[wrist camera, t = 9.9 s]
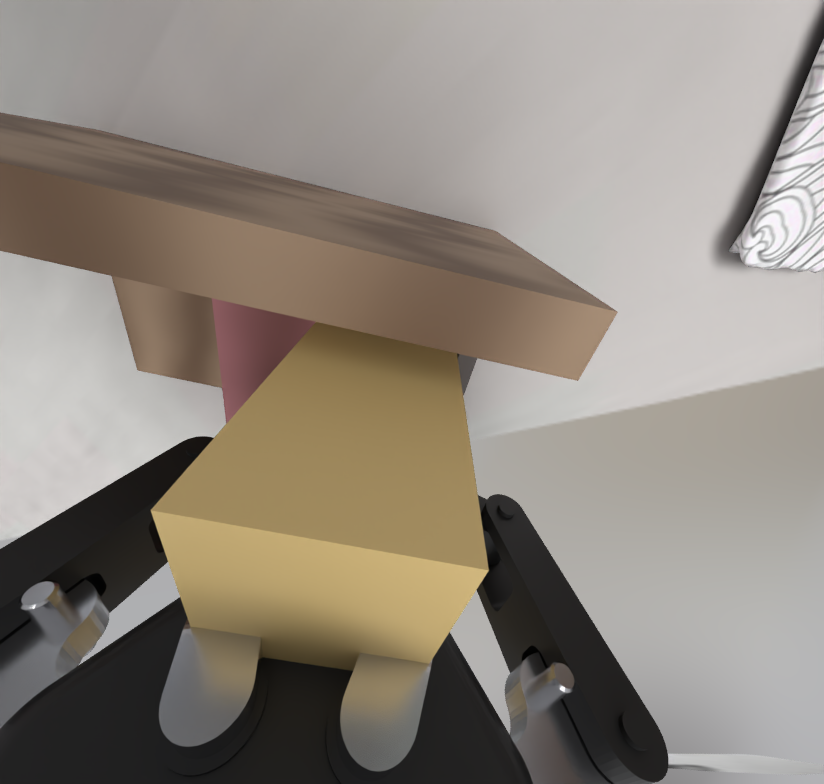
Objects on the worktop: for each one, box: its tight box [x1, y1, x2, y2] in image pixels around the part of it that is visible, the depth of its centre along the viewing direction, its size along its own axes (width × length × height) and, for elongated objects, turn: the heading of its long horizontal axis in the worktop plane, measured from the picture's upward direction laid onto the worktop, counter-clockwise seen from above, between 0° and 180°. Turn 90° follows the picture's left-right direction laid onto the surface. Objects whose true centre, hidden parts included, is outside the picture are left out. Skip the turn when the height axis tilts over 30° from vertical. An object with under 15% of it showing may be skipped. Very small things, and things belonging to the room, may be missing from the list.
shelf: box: [0, 113, 617, 424], centre depth 15 cm, size 22×14×14 cm, turn 78°
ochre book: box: [151, 322, 489, 671], centre depth 13 cm, size 4×10×16 cm, turn 168°
